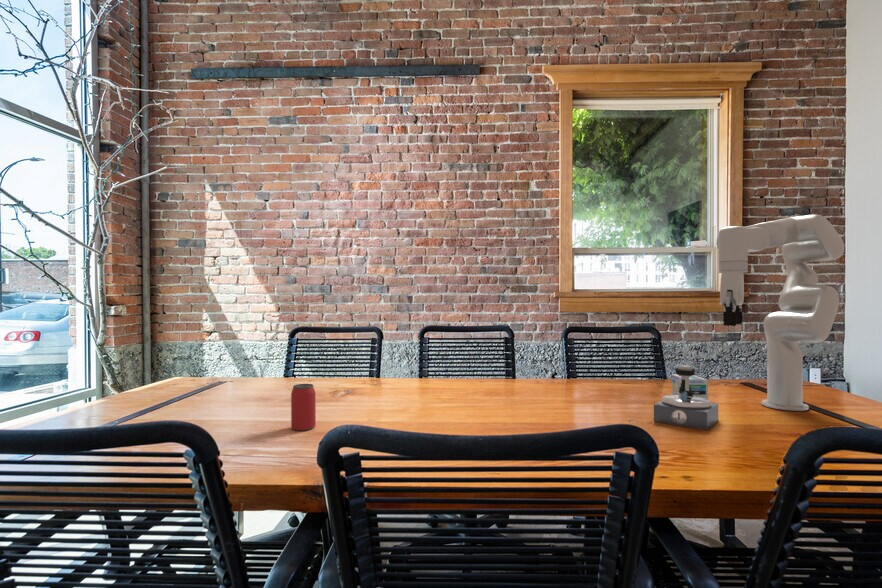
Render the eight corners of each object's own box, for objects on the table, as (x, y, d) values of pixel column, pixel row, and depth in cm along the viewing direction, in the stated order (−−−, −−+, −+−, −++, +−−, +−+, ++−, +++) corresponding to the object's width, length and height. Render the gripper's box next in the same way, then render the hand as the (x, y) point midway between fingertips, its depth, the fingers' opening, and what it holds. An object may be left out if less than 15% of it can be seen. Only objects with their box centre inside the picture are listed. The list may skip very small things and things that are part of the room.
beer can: (320, 427, 133) (320, 385, 133) (299, 433, 128) (298, 388, 128) (307, 423, 137) (307, 382, 137) (286, 428, 132) (286, 385, 132)
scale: (667, 412, 149) (668, 396, 149) (718, 420, 140) (718, 403, 140) (653, 421, 138) (653, 404, 138) (706, 430, 129) (706, 412, 129)
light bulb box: (708, 413, 148) (708, 379, 148) (687, 413, 148) (687, 379, 148) (691, 405, 159) (691, 373, 159) (671, 405, 159) (671, 373, 159)
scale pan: (669, 397, 149) (669, 393, 149) (715, 403, 140) (715, 399, 140) (656, 404, 139) (656, 400, 139) (705, 411, 130) (705, 407, 130)
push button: (700, 403, 135) (700, 368, 135) (681, 402, 136) (680, 368, 136) (690, 397, 142) (690, 364, 142) (672, 397, 142) (672, 364, 142)
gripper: (724, 269, 151) (724, 322, 151) (712, 267, 138) (712, 325, 138) (752, 268, 146) (752, 323, 146) (742, 266, 133) (742, 326, 133)
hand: (733, 324), depth 142 cm, fingers open, 9 cm apart
